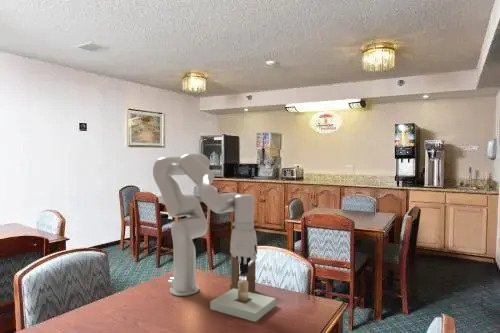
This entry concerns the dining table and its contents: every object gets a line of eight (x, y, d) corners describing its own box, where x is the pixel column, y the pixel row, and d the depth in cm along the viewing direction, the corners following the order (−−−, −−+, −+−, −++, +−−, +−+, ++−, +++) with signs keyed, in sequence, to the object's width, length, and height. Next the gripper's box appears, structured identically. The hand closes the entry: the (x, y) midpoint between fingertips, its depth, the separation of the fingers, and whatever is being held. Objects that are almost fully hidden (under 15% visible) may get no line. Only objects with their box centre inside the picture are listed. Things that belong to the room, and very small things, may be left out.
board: (210, 309, 133) (210, 301, 133) (233, 295, 147) (233, 288, 147) (255, 321, 123) (255, 313, 123) (275, 305, 137) (275, 298, 137)
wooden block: (254, 293, 150) (255, 252, 149) (230, 292, 151) (230, 251, 150) (255, 290, 153) (255, 249, 153) (231, 289, 154) (231, 249, 154)
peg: (235, 308, 134) (235, 282, 134) (241, 304, 138) (241, 279, 138) (244, 310, 132) (244, 284, 132) (250, 306, 136) (250, 281, 136)
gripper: (222, 225, 135) (222, 272, 135) (256, 229, 128) (255, 279, 128) (233, 223, 142) (233, 267, 142) (265, 226, 134) (265, 273, 134)
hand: (244, 273), depth 135 cm, fingers closed
